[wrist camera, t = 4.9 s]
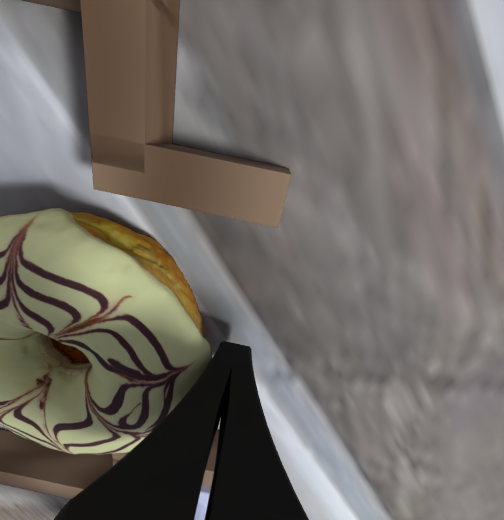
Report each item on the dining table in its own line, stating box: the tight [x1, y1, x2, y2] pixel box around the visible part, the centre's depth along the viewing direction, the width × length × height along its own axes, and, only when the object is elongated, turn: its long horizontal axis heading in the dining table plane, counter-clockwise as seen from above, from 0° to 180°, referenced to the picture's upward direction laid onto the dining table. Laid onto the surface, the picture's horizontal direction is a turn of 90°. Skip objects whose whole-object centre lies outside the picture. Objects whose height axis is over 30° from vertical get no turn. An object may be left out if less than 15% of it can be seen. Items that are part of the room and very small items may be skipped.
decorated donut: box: [0, 208, 212, 455], centre depth 10 cm, size 10×11×4 cm
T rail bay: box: [0, 0, 291, 499], centre depth 11 cm, size 20×25×2 cm
